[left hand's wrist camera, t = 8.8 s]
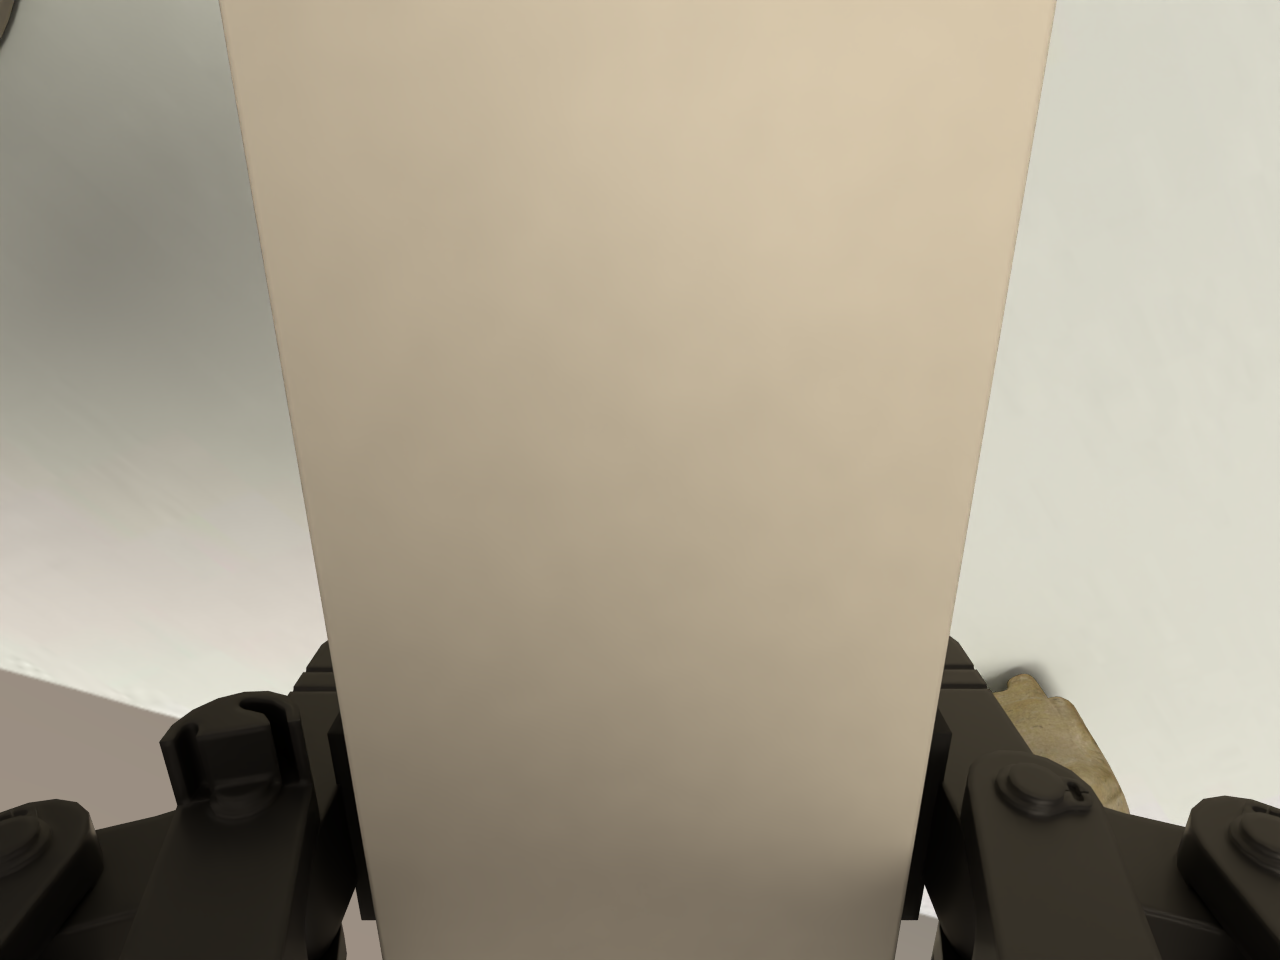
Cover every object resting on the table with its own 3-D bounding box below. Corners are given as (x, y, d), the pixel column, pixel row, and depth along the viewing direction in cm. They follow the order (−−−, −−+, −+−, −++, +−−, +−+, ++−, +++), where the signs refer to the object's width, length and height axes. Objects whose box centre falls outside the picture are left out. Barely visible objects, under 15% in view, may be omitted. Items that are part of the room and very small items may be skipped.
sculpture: (895, 706, 39) (1036, 1003, 25) (1031, 642, 38) (1261, 918, 24) (942, 784, 41) (1098, 1101, 27) (1074, 725, 39) (1311, 1028, 25)
